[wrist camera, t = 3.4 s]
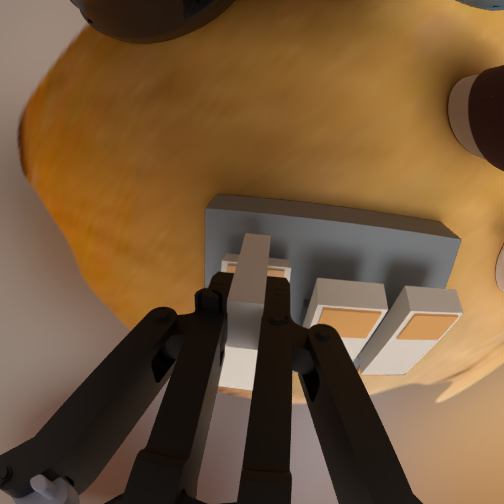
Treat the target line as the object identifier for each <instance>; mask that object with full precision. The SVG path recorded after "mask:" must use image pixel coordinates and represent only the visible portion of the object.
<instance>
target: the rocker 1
mask: <svg viewBox="0 0 504 504" xmlns="http://www.w3.org/2000/svg"><path fill="white" fill-rule="evenodd" d="M238 259H239V254H230V253H227V254H226V255H225V257H224V258H223V260H222V265H221V272H229V273H235V269H236V266H237V262H238ZM290 274H291V263H290V260H287V259H277V258H269V260H268V270H267V276H274V277H284V278H287V280H288V281H289V282H290ZM257 352H258V350H252V349H244V348H235V347H227V346H226V345H225V357H224V362H223V366H222V371H221V375H220V380H219V385H218V386H223V387H230V388H238V389H246V390H253V384H254V376H255V368H256V360H257Z"/></svg>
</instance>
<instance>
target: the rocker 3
mask: <svg viewBox="0 0 504 504" xmlns="http://www.w3.org/2000/svg"><path fill="white" fill-rule="evenodd" d="M462 314H463V310H462V306H461V303H460V300H459V297H458V294H457V291H456V290H454V289H441V288H428V287H415V286H404V288H403V290H402V291H401V293H400V295H399V296H398V298H397V300H396V301H395V303H394V304H393V306H392V308H391V309H390V311H389V312H388V314H387V315H386V317H385V318H384V320H383V321H382V323H381V324H380V326H379V327H378V329H377V330H376V332H375V333H374V335H373V336H372V338H371V339H370V341H369V342H368V343H367V345H366V346H365V348H364V349H363V350H362V352H361V353H360V355H359V356H360V373H361V375H402V374H405V373H406V372H407V371H409V370H410V369H411V368H412V367H413V366H414V365H415V364H416V363H417V362H418V361H419V360H420V359H421V358H422V357H423V356H424V355H425V354H426V353H427V352H428V351H429V350H430V349H431V348H432V347H433V346H434V345H435V344H436V343H437V342H438V341H439V340H440V339H441V338H442V337H443V335H444V334H445V333H446V332H447V331H448V330H449V329H450V328H451V327H452V326H453V324H454V323H455V322H456V321H457V320H458V319H459V318H460V316H461V315H462Z"/></svg>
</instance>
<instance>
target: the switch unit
mask: <svg viewBox="0 0 504 504" xmlns="http://www.w3.org/2000/svg"><path fill="white" fill-rule="evenodd" d="M245 233H250V234H260V235H270V236H271V239H270V250H269V258H277V259H287V260H290V263H291V274H290V282H289V283H290V314H291V318H292V320H293V321H294V322H295V323H296V324H298V325H300V326H303V323H304V320H305V316H306V313H307V310H308V307H309V304H310V300H311V297H312V294H313V290H314V287H315V284H316V280H317V278H326V279H336V280H347V281H358V282H369V283H380V284H384V289H385V294H386V300H387V305H388V311H387V312H386V314H385V316H384V317H383V319H382V320H381V322H380V323H379V325H378V326H377V328H376V329H375V331H374V332H373V334H372V335H371V337H370V338H369V340H368V341H367V343H368V342H369V341H370V339H371V338H372V336H373V335H374V333H375V332H376V330H377V329H378V327H379V326H380V324H381V323H382V321H383V320H384V318H385V317H386V315H387V314H388V312H389V311H390V309H391V308H392V306H393V304H394V303H395V301H396V300H397V298H398V296H399V295H400V293H401V291H402V290H403V288H404V286H415V287H428V288H441V289H445V287H446V284H447V282H448V279H449V276H450V273H451V270H452V268H453V265H454V262H455V259H456V256H457V253H458V249H459V246H460V243H461V239H460V238H459V237H458V236H457V235H456V234H454V233H453V232H452V231H451V230H450V229H449V228H447V227H446V226H445V225H444V224H442V223H441V222H437V221H431V220H425V219H420V218H414V217H408V216H401V215H395V214H389V213H382V212H375V211H368V210H361V209H354V208H347V207H339V206H331V205H323V204H315V203H307V202H298V201H289V200H279V199H269V198H259V197H248V196H236V195H224V194H217V195H216V196H215V197H214V198H213V200H212V201H211V202H210V203H209V204H208V206H207V207H206V208H205V288H208V286H209V284H210V281H211V278H212V276H213V275H214V274H216V273H217V272H218V271H219V272H221V265H222V260H223V258H224V257H225V255H226V254H227V253H230V254H239V255H240V251H241V248H242V244H243V241H244V237H245ZM367 343H366V344H365V345H364V347H363V348H362V350H363V349H364V348H365V346H366V345H367ZM362 350H361V351H360V352H359V354H358V355H357V357H356V358H355V359H354V361H353V363H354V365H355V367H356V369H357V371H358V374H359V375H361V373H360V356H359V355H360V353H361V352H362ZM292 372H293V371H292ZM297 373H298V372H297ZM405 374H406V373H405ZM405 374H402V375H405Z"/></svg>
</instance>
